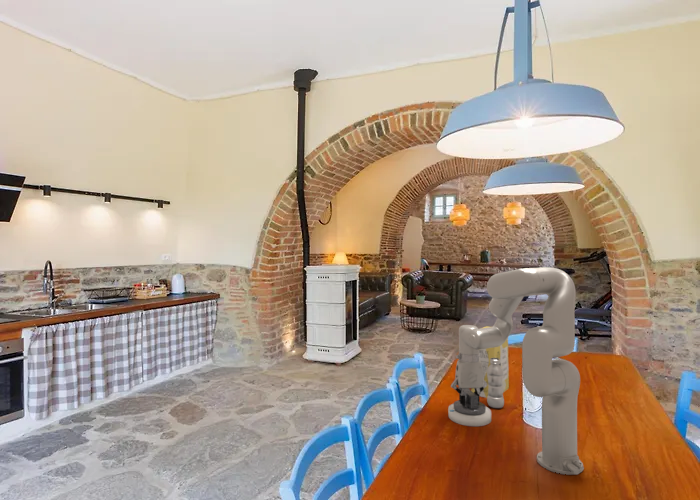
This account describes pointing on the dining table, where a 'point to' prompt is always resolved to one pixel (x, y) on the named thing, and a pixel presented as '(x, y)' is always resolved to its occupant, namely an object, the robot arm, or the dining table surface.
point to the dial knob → (470, 404)
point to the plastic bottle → (495, 384)
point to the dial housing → (469, 417)
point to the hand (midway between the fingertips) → (469, 403)
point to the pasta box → (502, 354)
